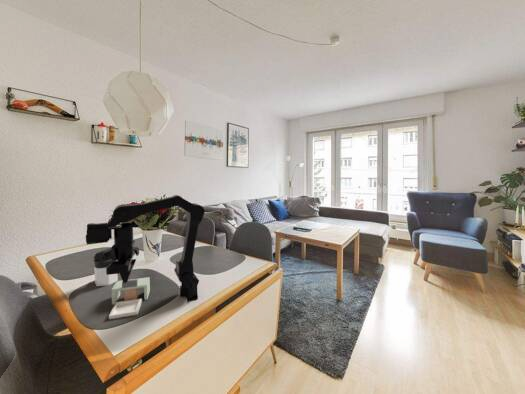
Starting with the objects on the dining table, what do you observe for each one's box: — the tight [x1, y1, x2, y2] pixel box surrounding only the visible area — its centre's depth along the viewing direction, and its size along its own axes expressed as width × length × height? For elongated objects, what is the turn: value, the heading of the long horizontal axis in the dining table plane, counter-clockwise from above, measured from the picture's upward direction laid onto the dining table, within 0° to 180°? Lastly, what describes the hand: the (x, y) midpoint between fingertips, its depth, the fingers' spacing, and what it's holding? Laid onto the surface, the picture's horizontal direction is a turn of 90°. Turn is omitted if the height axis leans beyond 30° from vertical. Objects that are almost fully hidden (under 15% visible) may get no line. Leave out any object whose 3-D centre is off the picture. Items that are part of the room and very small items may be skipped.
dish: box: [108, 298, 143, 320], centre depth 79 cm, size 9×9×1 cm
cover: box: [110, 277, 151, 306], centre depth 87 cm, size 12×7×8 cm, turn 110°
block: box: [123, 288, 139, 301], centre depth 86 cm, size 4×4×5 cm
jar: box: [93, 259, 119, 287], centre depth 99 cm, size 9×8×12 cm
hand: (125, 282), depth 78 cm, fingers closed
